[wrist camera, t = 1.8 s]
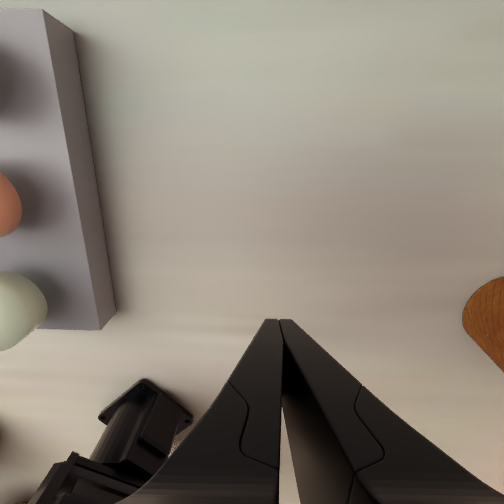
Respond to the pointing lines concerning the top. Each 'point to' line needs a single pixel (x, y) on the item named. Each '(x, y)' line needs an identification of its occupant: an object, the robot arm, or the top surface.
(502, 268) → the top surface
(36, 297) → the sage button
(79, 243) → the button panel
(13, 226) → the terracotta button
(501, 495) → the robot arm
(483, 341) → the disposable coffee cup
